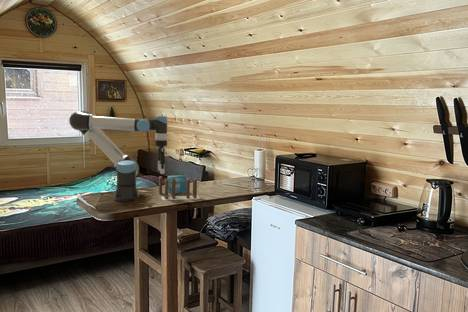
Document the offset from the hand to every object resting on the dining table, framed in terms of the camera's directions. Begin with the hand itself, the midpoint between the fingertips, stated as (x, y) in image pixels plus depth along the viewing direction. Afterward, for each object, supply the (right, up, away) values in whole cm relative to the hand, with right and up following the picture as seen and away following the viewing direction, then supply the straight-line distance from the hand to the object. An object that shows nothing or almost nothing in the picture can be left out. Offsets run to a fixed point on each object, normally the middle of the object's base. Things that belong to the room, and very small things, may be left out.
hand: (161, 172), depth 278 cm
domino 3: (+10, -16, -11) cm, 21 cm away
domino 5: (+23, -16, -7) cm, 28 cm away
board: (+14, -17, -10) cm, 24 cm away
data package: (+9, -15, +8) cm, 19 cm away
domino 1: (-1, -15, +2) cm, 15 cm away
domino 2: (+5, -16, -12) cm, 21 cm away
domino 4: (+18, -16, -8) cm, 26 cm away
